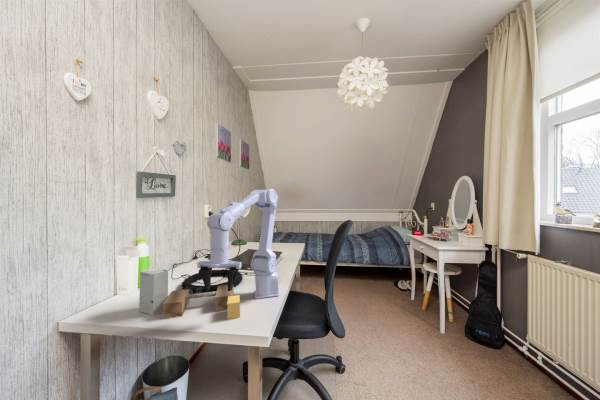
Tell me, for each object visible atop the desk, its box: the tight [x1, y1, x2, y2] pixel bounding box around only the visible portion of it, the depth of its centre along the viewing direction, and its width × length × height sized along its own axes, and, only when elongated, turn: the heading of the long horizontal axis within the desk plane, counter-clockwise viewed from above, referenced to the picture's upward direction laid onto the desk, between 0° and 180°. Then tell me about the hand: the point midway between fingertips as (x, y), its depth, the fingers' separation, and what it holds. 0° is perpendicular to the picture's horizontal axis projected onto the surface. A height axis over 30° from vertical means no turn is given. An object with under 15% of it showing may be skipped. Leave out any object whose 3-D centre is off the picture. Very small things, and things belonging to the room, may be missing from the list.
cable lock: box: [181, 268, 244, 294], centre depth 112 cm, size 28×4×30 cm
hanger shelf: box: [162, 285, 235, 319], centre depth 89 cm, size 23×12×5 cm, turn 104°
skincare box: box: [138, 267, 169, 316], centre depth 87 cm, size 8×6×15 cm
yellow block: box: [226, 294, 241, 320], centre depth 82 cm, size 4×6×5 cm, turn 14°
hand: (218, 290), depth 78 cm, fingers open, 7 cm apart
